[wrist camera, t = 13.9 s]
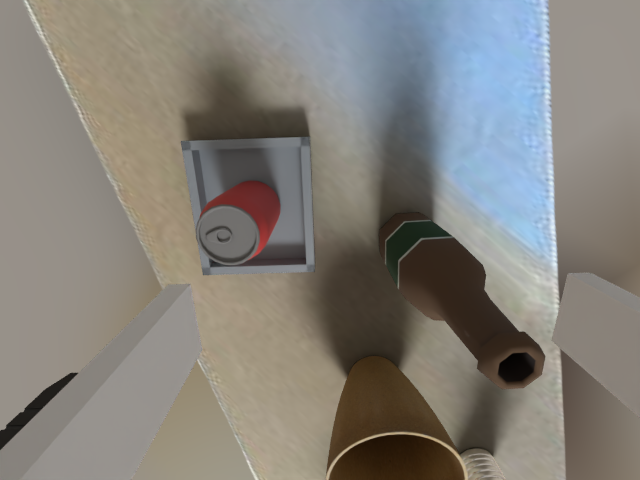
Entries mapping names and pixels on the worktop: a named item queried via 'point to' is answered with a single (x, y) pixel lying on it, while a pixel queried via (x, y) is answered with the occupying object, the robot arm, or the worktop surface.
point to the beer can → (238, 223)
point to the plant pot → (388, 430)
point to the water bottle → (481, 465)
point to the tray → (269, 168)
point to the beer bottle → (457, 297)
